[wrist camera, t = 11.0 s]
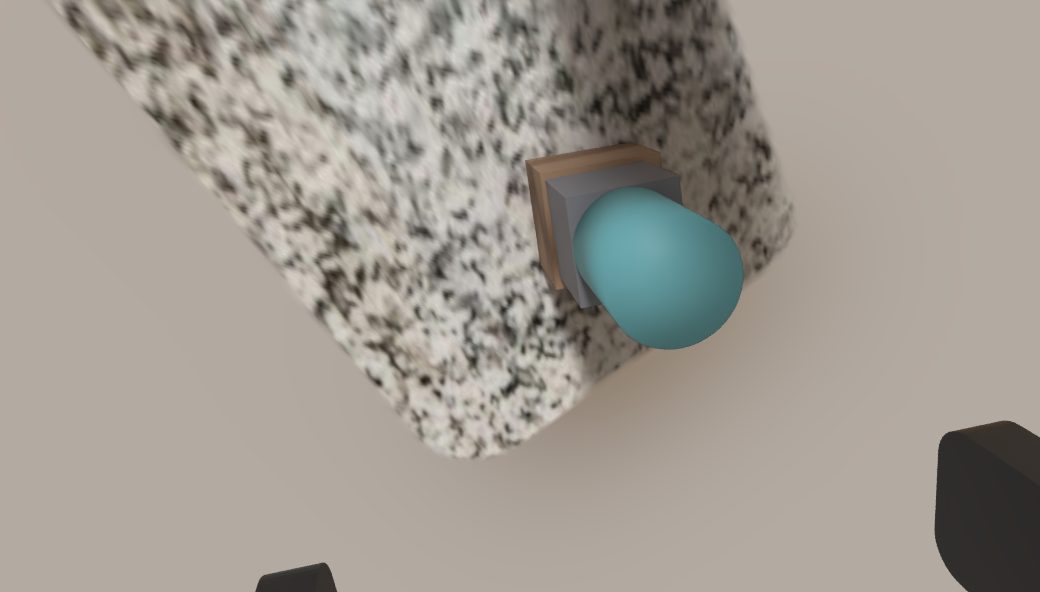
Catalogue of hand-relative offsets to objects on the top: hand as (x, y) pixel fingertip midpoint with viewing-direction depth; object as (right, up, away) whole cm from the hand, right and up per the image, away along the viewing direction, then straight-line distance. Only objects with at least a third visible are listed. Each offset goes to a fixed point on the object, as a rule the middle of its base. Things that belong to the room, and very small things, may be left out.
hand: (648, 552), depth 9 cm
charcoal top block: (+2, +7, +27) cm, 28 cm away
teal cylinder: (+3, +6, +22) cm, 23 cm away
